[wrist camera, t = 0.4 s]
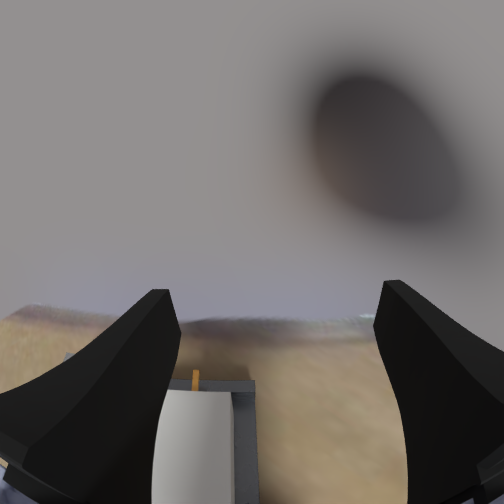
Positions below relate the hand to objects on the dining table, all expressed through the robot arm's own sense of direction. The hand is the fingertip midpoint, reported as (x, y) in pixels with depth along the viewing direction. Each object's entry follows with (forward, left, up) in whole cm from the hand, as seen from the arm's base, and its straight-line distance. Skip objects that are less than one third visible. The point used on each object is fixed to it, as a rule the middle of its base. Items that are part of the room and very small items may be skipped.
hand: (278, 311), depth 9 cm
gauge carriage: (-1, +5, -19) cm, 19 cm away
